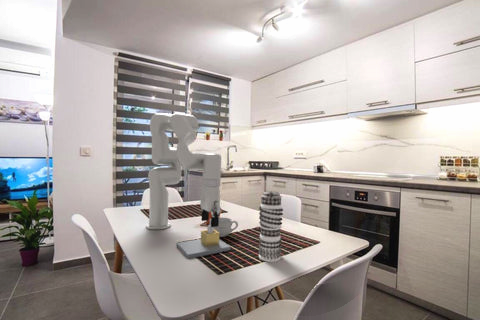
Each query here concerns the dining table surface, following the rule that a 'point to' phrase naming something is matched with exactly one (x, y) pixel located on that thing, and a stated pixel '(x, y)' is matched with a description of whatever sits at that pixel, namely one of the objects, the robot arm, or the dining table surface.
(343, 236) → the dining table surface
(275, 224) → the leaning tower model
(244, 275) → the dining table surface
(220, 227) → the teacup
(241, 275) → the dining table surface
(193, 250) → the board
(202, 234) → the brass collar
